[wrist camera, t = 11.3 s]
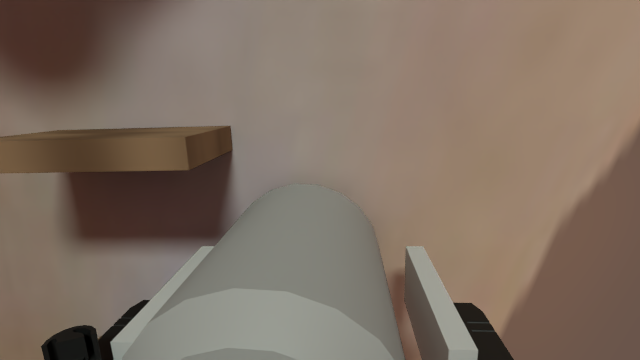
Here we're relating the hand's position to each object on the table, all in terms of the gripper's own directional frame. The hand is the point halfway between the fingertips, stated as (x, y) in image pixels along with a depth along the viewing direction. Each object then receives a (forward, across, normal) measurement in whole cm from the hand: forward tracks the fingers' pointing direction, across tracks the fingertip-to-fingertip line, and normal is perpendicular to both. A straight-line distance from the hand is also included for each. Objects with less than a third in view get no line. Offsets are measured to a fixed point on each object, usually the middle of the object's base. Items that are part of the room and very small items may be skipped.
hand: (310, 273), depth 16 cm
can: (+3, 0, 0) cm, 3 cm away
